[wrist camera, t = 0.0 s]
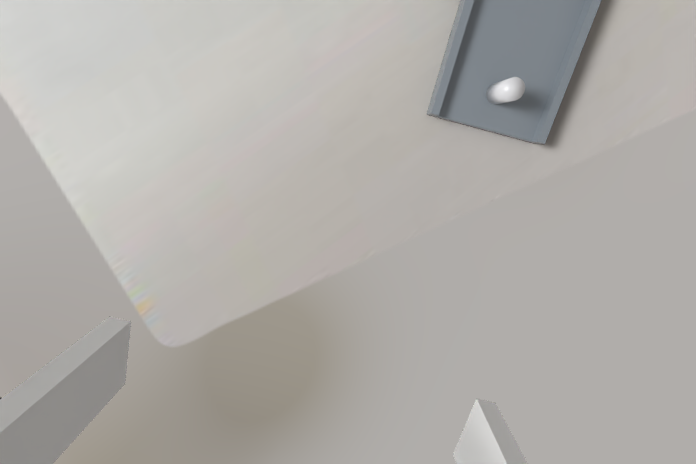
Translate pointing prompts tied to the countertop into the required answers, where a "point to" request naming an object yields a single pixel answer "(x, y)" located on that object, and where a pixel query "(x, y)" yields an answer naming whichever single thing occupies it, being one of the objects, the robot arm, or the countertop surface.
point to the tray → (511, 64)
